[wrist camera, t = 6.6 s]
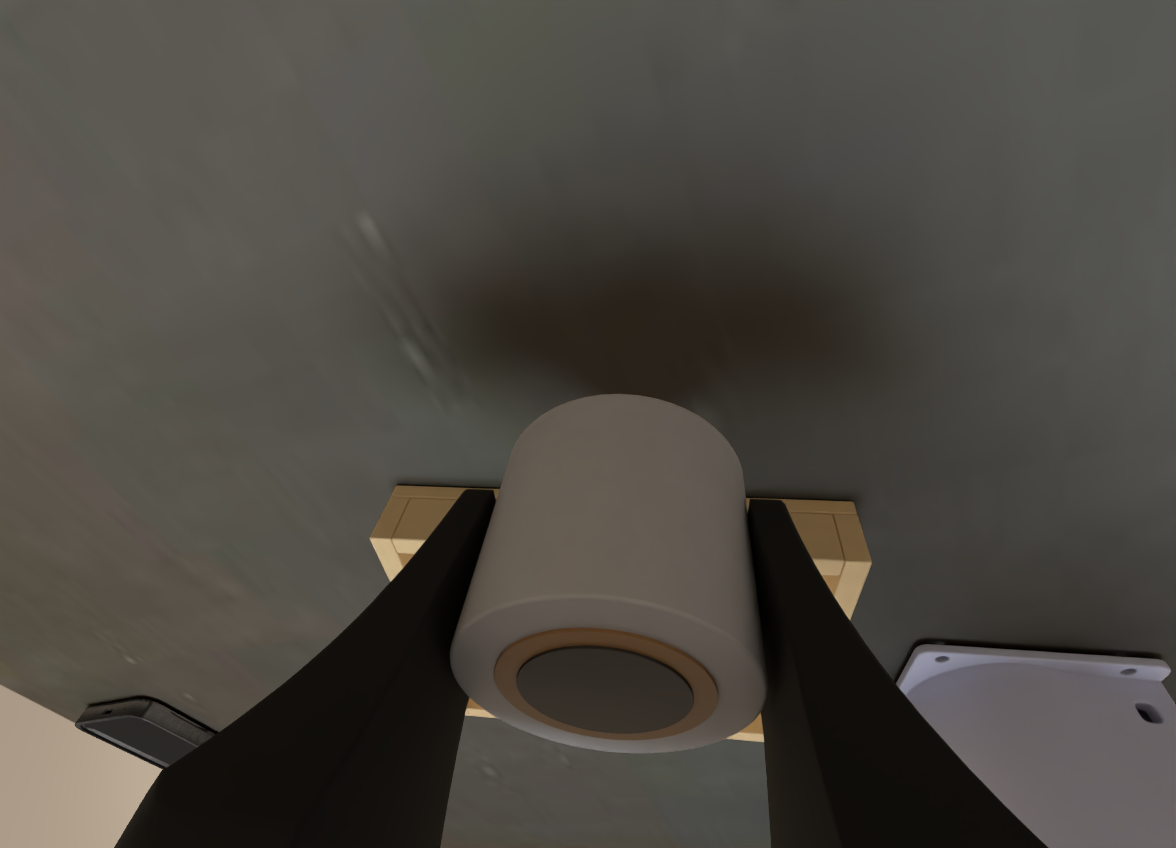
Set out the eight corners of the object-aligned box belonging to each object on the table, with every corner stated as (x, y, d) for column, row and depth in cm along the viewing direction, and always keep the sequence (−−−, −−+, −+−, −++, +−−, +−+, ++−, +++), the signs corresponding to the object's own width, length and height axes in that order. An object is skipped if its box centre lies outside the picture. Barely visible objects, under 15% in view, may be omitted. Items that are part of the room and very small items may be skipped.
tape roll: (756, 393, 12) (793, 616, 8) (732, 563, 15) (750, 773, 11) (489, 390, 12) (409, 592, 9) (526, 552, 16) (479, 746, 12)
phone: (234, 803, 49) (67, 724, 41) (241, 788, 50) (79, 708, 42) (301, 799, 46) (136, 714, 38) (308, 783, 47) (147, 696, 39)
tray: (854, 500, 20) (872, 562, 18) (793, 690, 29) (802, 746, 27) (395, 484, 22) (368, 538, 20) (467, 664, 31) (453, 714, 29)
